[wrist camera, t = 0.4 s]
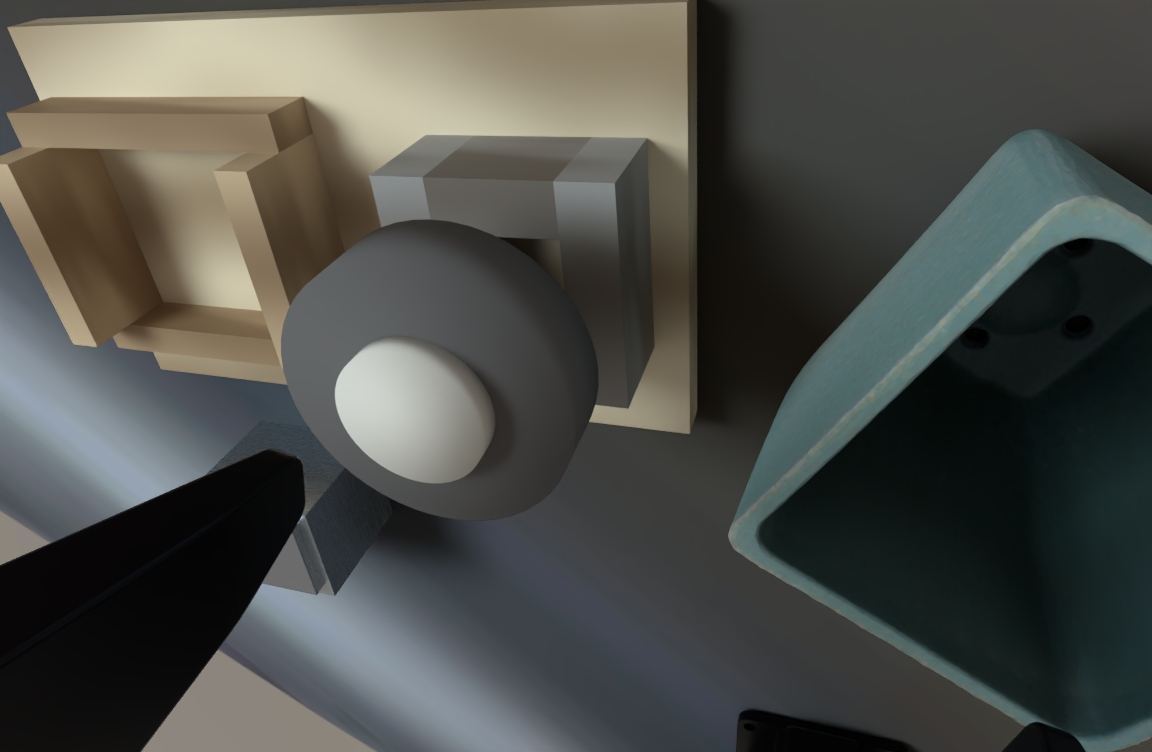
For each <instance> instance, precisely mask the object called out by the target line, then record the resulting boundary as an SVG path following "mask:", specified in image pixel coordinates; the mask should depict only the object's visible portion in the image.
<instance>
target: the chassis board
mask: <svg viewBox="0 0 1152 752" xmlns="http://www.w3.org/2000/svg"><path fill="white" fill-rule="evenodd" d="M7 28H8V30H9V32H10V34H11V37H12V39H13V41H14V43H15V46H16V48H17V50H18V52H19V54H20V57H21V59H22V61H23V63H24V66H25V68H26V70H27V72H28V74H29V77H30V79H31V81H32V83H33V86H34V88H35V90H36V92H37V94H38V97H39V99H40V101H39V102H36V103H33V104H30V105H27V106H25V107H22V108H19V109H16V110H13V111H10V112H7V116H8V118H9V120H10V122H11V124H12V126H13V128H14V130H15V132H16V134H17V136H18V139H19V141H20V143H21V145H22V148H19V149H17V150H14V151H12V152H9V153H6V154H4V155H1V156H0V202H1V204H2V206H3V207H4V209H5V211H6V213H7V215H8V217H9V219H10V221H11V223H12V225H13V227H14V229H15V231H16V233H17V235H18V237H19V239H20V241H21V243H22V245H23V247H24V248H25V250H26V252H27V254H28V256H29V258H30V260H31V262H32V264H33V266H34V268H35V270H36V272H37V274H38V276H39V278H40V280H41V282H42V284H43V286H44V288H45V289H46V291H47V293H48V295H49V297H50V299H51V301H52V303H53V305H54V307H55V309H56V311H57V313H58V315H59V317H60V319H61V321H62V323H63V325H64V327H65V329H66V330H67V332H68V334H69V336H70V338H71V340H72V342H73V344H75V345H84V346H92V347H98V346H100V345H101V344H103V343H104V342H106V341H107V340H109V339H110V338H111V337H113V338H114V340H115V342H116V344H117V346H118V348H126V349H134V350H143V351H152V352H154V355H155V357H156V359H157V361H158V364H159V366H160V368H161V369H165V370H173V371H181V372H189V373H197V374H205V375H213V376H222V377H230V378H238V379H246V380H254V381H262V382H270V383H279V384H287V382H286V378H285V375H284V371H283V365H282V358H281V335H282V329H283V323H284V320H285V317H286V314H287V311H288V309H289V307H290V305H291V304H292V302H293V300H294V298H295V297H296V295H297V294H298V293H299V292H300V291H301V290H302V288H303V287H304V286H305V285H306V284H307V283H309V282H310V281H311V280H312V279H313V278H315V277H316V276H317V275H318V274H319V273H321V272H322V271H323V270H324V269H325V268H327V267H328V266H329V265H330V264H331V263H333V262H334V261H335V260H336V259H337V258H339V257H340V256H341V255H342V254H343V253H345V252H346V251H347V250H348V249H349V248H351V247H352V246H353V245H354V244H356V243H357V242H358V241H359V240H361V239H362V238H363V237H364V236H366V235H368V234H369V233H371V232H373V231H375V230H377V229H379V228H381V227H384V226H387V225H390V224H393V223H396V222H402V221H408V220H424V219H433V220H442V221H450V222H455V223H459V224H463V225H467V226H471V227H474V228H476V229H479V230H482V231H484V232H487V233H490V234H492V235H494V236H496V237H498V238H500V239H502V240H504V241H506V242H508V243H509V244H511V245H513V246H514V247H516V248H517V249H519V250H520V251H522V252H523V253H525V254H526V255H528V256H529V257H531V258H532V259H533V260H534V261H536V262H537V263H538V264H539V265H540V266H541V267H542V268H544V269H545V270H546V271H547V272H548V273H549V274H550V275H551V276H552V278H553V279H554V280H555V281H556V282H557V283H558V284H559V285H560V286H561V287H562V289H563V290H564V291H565V292H566V294H567V295H568V296H569V298H570V299H571V300H572V302H573V303H574V305H575V307H576V308H577V310H578V311H579V313H580V315H581V316H582V318H583V320H584V322H585V325H586V327H587V329H588V331H589V334H590V336H591V339H592V342H593V346H594V349H595V352H596V358H597V364H598V380H599V387H598V393H597V400H596V404H595V407H594V410H593V413H592V416H591V418H590V420H589V422H596V423H604V424H612V425H620V426H628V427H636V428H645V429H653V430H661V431H669V432H677V433H685V434H690V432H691V429H692V426H693V423H694V419H695V416H696V413H697V0H490V1H465V2H441V3H416V4H391V5H367V6H342V7H317V8H292V9H268V10H243V11H218V12H194V13H169V14H144V15H119V16H95V17H70V18H45V19H38V20H34V21H30V22H26V23H22V24H18V25H14V26H10V27H7Z"/></svg>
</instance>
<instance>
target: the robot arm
mask: <svg viewBox="0 0 1152 752" xmlns="http://www.w3.org/2000/svg"><path fill="white" fill-rule="evenodd" d="M305 502H306V498H305V484H304V470H303V462H302V461H301V459H300V458H299V457H298V456H296V455H293V454H290V453H288V452H285V451H282V450H279V449H276V448H269V449H265V450H262V451H260V452H258V453H256V454H253V455H251V456H249V457H246V458H244V459H242V460H240V461H237V462H235V463H233V464H230V465H228V466H226V467H224V468H221V469H219V470H217V471H214V472H212V473H210V474H208V475H205V476H203V477H201V478H198V479H196V480H194V481H192V482H189V483H187V484H185V485H182V486H180V487H178V488H176V489H173V490H171V491H169V492H166V493H164V494H162V495H160V496H157V497H155V498H153V499H150V500H148V501H146V502H144V503H141V504H139V505H137V506H134V507H132V508H130V509H128V510H125V511H123V512H121V513H118V514H116V515H114V516H112V517H109V518H107V519H105V520H102V521H100V522H98V523H96V524H93V525H91V526H89V527H86V528H84V529H82V530H80V531H77V532H75V533H73V534H70V535H68V536H66V537H64V538H61V539H59V540H57V541H54V542H52V543H50V544H48V545H45V546H43V547H41V548H39V549H36V550H34V551H32V552H29V553H27V554H25V555H22V556H20V557H18V558H16V559H13V560H11V561H9V562H6V563H4V564H2V565H0V752H141V751H142V750H143V748H144V747H145V746H146V744H147V743H148V742H149V740H150V739H151V738H152V736H153V735H154V734H155V732H156V731H157V730H158V728H159V727H160V726H161V724H162V723H163V722H164V720H165V719H166V718H167V716H168V715H169V714H170V712H171V711H172V710H173V708H174V707H175V706H176V704H177V703H178V702H179V701H180V699H181V698H182V697H183V695H184V694H185V692H186V691H187V690H188V689H189V687H190V686H191V685H192V683H193V682H194V681H195V679H196V678H197V677H198V675H199V674H200V673H201V671H202V670H203V669H204V667H205V666H206V664H207V663H208V662H209V661H210V659H211V658H212V657H213V655H214V654H215V653H216V651H217V650H218V649H219V647H220V646H221V645H222V643H223V642H224V641H225V639H226V638H227V637H228V635H229V634H230V633H231V631H232V630H233V628H234V627H235V626H236V624H237V623H238V621H239V620H240V618H241V617H242V615H243V614H244V612H245V611H246V609H247V607H248V606H249V604H250V603H251V601H252V599H253V598H254V596H255V594H256V593H257V591H258V589H259V588H260V586H261V584H262V583H263V581H264V579H265V577H266V576H267V574H268V572H269V571H270V569H271V567H272V566H273V564H274V562H275V561H276V559H277V557H278V556H279V554H280V552H281V551H282V549H283V547H284V546H285V544H286V542H287V541H288V539H289V537H290V536H291V534H292V532H293V530H294V529H295V527H296V525H297V524H298V522H299V520H300V518H301V516H302V514H303V511H304V508H305ZM736 752H908V750H907V749H906V747H904V746H902V745H900V744H897V743H893V742H889V741H884V740H880V739H875V738H870V737H866V736H861V735H857V734H852V733H848V732H843V731H839V730H834V729H830V728H825V727H821V726H816V725H812V724H807V723H802V722H798V721H793V720H789V719H784V718H780V717H775V716H771V715H766V714H762V713H757V712H753V711H743V712H741V713H740V714H739V718H738V724H737V744H736ZM1002 752H1086V751H1085V749H1084V748H1083V746H1082V744H1081V743H1080V742H1079V741H1078V740H1077V739H1076V737H1075V736H1073V735H1072V734H1070V733H1068V732H1066V731H1064V730H1061V729H1058V728H1055V727H1052V726H1050V725H1047V724H1044V723H1041V722H1033V723H1029V724H1028V725H1027V726H1026V727H1025V728H1024V729H1023V730H1022V731H1021V732H1020V733H1019V734H1018V735H1017V736H1016V737H1015V738H1014V739H1013V740H1012V741H1011V743H1010V744H1009V745H1008V746H1007V747H1006V748H1005V749H1004V750H1003V751H1002Z"/></svg>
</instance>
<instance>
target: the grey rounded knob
mask: <svg viewBox="0 0 1152 752" xmlns="http://www.w3.org/2000/svg"><path fill="white" fill-rule="evenodd" d="M281 358H282V365H283V371H284V375H285V378H286V382H287V385H288V388H289V391H290V393H291V395H292V398H293V400H294V403H295V405H296V406H297V408H298V410H299V412H300V414H301V416H302V417H303V419H304V421H305V422H306V424H307V425H308V427H309V428H310V429H311V431H312V432H313V434H314V435H315V436H316V437H317V439H318V440H319V441H320V442H321V444H322V445H323V446H324V447H325V448H326V449H327V450H328V451H329V453H330V454H331V455H332V456H333V457H334V458H335V459H336V460H337V461H338V462H339V463H341V464H342V465H343V466H344V467H345V468H346V469H347V470H349V471H350V472H351V473H352V474H353V475H355V476H356V477H357V478H359V479H360V480H362V481H363V482H364V483H366V484H367V485H369V486H370V487H372V488H373V489H375V490H377V491H378V492H380V493H381V494H383V495H385V496H387V497H389V498H391V499H393V500H395V501H397V502H399V503H401V504H403V505H406V506H408V507H411V508H413V509H415V510H419V511H422V512H425V513H428V514H431V515H435V516H440V517H444V518H449V519H457V520H466V521H484V520H494V519H500V518H504V517H509V516H513V515H515V514H518V513H520V512H523V511H525V510H528V509H529V508H531V507H533V506H534V505H536V504H538V503H539V502H540V501H542V500H543V499H544V498H545V497H546V496H547V495H549V494H550V493H551V491H552V490H553V489H554V488H555V487H556V485H557V484H558V483H559V481H560V479H561V478H562V476H563V474H564V472H565V470H566V468H567V466H568V464H569V462H570V460H571V458H572V456H573V454H574V451H575V449H576V447H577V445H578V443H579V441H580V439H581V437H582V435H583V433H584V431H585V428H586V426H587V424H588V422H589V420H590V418H591V416H592V413H593V410H594V407H595V404H596V400H597V393H598V387H599V380H598V364H597V358H596V352H595V349H594V346H593V342H592V339H591V336H590V334H589V331H588V329H587V327H586V325H585V322H584V320H583V318H582V316H581V315H580V313H579V311H578V310H577V308H576V307H575V305H574V303H573V302H572V300H571V299H570V298H569V296H568V295H567V294H566V292H565V291H564V290H563V289H562V287H561V286H560V285H559V284H558V283H557V282H556V281H555V280H554V279H553V278H552V276H551V275H550V274H549V273H548V272H547V271H546V270H545V269H544V268H542V267H541V266H540V265H539V264H538V263H537V262H536V261H534V260H533V259H532V258H531V257H529V256H528V255H526V254H525V253H523V252H522V251H520V250H519V249H517V248H516V247H514V246H513V245H511V244H509V243H508V242H506V241H504V240H502V239H500V238H498V237H496V236H494V235H492V234H490V233H487V232H484V231H482V230H479V229H476V228H474V227H471V226H467V225H463V224H459V223H455V222H450V221H442V220H433V219H424V220H408V221H402V222H396V223H393V224H390V225H387V226H384V227H381V228H379V229H377V230H375V231H373V232H371V233H369V234H368V235H366V236H364V237H363V238H362V239H361V240H359V241H358V242H357V243H356V244H354V245H353V246H352V247H351V248H349V249H348V250H347V251H346V252H345V253H343V254H342V255H341V256H340V257H339V258H337V259H336V260H335V261H334V262H333V263H331V264H330V265H329V266H328V267H327V268H325V269H324V270H323V271H322V272H321V273H319V274H318V275H317V276H316V277H315V278H313V279H312V280H311V281H310V282H309V283H307V284H306V285H305V286H304V287H303V288H302V290H301V291H300V292H299V293H298V294H297V295H296V297H295V298H294V300H293V302H292V304H291V305H290V307H289V309H288V311H287V314H286V317H285V320H284V323H283V329H282V335H281Z"/></svg>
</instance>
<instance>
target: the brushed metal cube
mask: <svg viewBox="0 0 1152 752" xmlns="http://www.w3.org/2000/svg"><path fill="white" fill-rule="evenodd" d="M269 448H276V449H279V450H282V451H285V452H288V453H290V454H293V455H296V456H298V457H299V458H300V459H301V461H302V462H303V470H304V484H305V498H306V502H305V508H304V511H303V514H302V516H301V518H300V520H299V522H298V524H297V525H296V527H295V529H294V530H293V532H292V534H291V536H290V537H289V539H288V541H287V542H286V544H285V546H284V547H283V549H282V551H281V552H280V554H279V556H278V557H277V559H276V561H275V562H274V564H273V566H272V567H271V569H270V571H269V572H268V574H267V576H266V577H265V579H264V581H263V584H268V585H272V586H277V587H282V588H286V589H291V590H296V591H300V592H305V593H310V594H314V595H317V594H318V593H323V594H328V595H333V596H335V595H336V594H337V592H338V591H339V590H340V588H341V587H342V585H343V584H344V582H345V581H346V579H347V578H348V577H349V575H350V574H351V572H352V571H353V569H354V568H355V567H356V565H357V564H358V562H359V561H360V559H361V558H362V556H363V555H364V554H365V552H366V551H367V549H368V548H369V546H370V545H371V544H372V542H373V541H374V539H375V538H376V536H377V535H378V534H379V532H380V531H381V529H382V528H383V526H384V525H385V523H386V522H387V521H388V519H389V518H390V516H391V515H392V513H393V511H392V507H391V504H390V501H389V497H387V496H385V495H383V494H381V493H380V492H378V491H377V490H375V489H373V488H372V487H370V486H369V485H367V484H366V483H364V482H363V481H362V480H360V479H359V478H357V477H356V476H355V475H353V474H352V473H351V472H350V471H349V470H347V469H346V468H345V467H344V466H343V465H342V464H341V463H339V462H338V461H337V460H336V459H335V458H334V457H333V456H332V455H331V454H330V453H329V451H328V450H327V449H326V448H325V447H324V446H323V445H322V444H321V442H320V441H319V440H318V439H317V437H316V436H315V435H314V434H313V432H312V431H311V429H310V428H309V427H304V426H297V425H290V424H282V423H275V422H268V421H260V422H259V423H258V424H257V425H256V426H255V427H254V428H253V429H252V430H251V431H250V432H249V433H248V434H247V435H246V436H245V437H244V438H243V439H242V440H241V441H240V442H239V443H238V444H237V445H236V446H235V447H234V448H233V449H232V450H231V451H230V452H229V453H228V454H227V455H226V456H225V457H224V458H222V459H221V460H220V461H219V462H218V463H217V464H216V465H215V466H214V467H213V468H212V469H211V470H210V471H209V472H208V473H207V474H206V475H208V474H210V473H212V472H214V471H217V470H219V469H221V468H224V467H226V466H228V465H230V464H233V463H235V462H237V461H240V460H242V459H244V458H246V457H249V456H251V455H253V454H256V453H258V452H260V451H262V450H265V449H269Z"/></svg>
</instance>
